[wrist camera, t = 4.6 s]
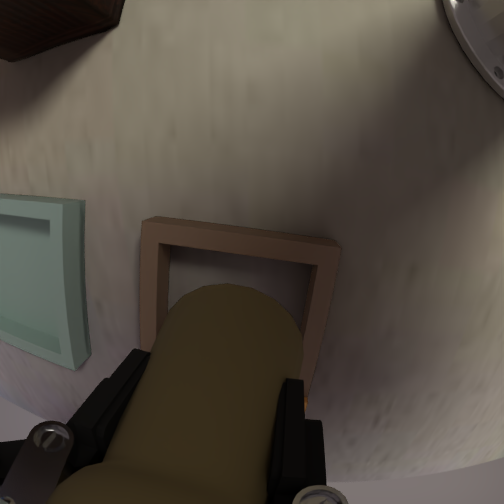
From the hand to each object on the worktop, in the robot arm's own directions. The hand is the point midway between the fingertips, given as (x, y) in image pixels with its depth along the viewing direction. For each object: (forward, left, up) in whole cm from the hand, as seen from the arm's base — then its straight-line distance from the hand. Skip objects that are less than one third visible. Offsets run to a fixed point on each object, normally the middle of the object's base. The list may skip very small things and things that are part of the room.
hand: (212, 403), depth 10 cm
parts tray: (+17, +1, -9) cm, 19 cm away
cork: (0, 0, -4) cm, 4 cm away
